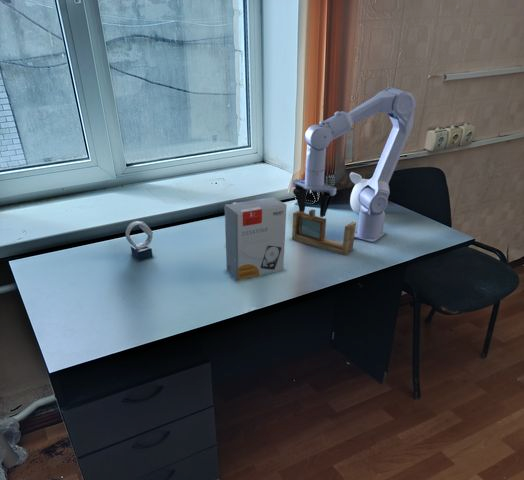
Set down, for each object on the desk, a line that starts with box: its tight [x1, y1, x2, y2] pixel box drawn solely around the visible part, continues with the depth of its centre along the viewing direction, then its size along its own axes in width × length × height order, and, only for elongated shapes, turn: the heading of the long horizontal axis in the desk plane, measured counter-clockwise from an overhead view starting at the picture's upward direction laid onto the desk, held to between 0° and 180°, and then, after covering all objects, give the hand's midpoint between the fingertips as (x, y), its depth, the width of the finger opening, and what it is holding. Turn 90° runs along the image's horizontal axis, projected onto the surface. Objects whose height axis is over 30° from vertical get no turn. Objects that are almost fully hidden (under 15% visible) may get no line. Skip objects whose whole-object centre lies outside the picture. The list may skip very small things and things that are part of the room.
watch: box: [125, 220, 154, 262], centre depth 146 cm, size 6×8×11 cm
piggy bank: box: [349, 171, 370, 215], centre depth 175 cm, size 12×12×15 cm
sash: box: [299, 208, 324, 241], centre depth 155 cm, size 2×9×9 cm, turn 54°
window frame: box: [291, 209, 357, 256], centre depth 154 cm, size 5×20×9 cm, turn 54°
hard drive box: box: [224, 196, 287, 282], centre depth 136 cm, size 16×8×20 cm, turn 117°
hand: (312, 213), depth 152 cm, fingers open, 7 cm apart
